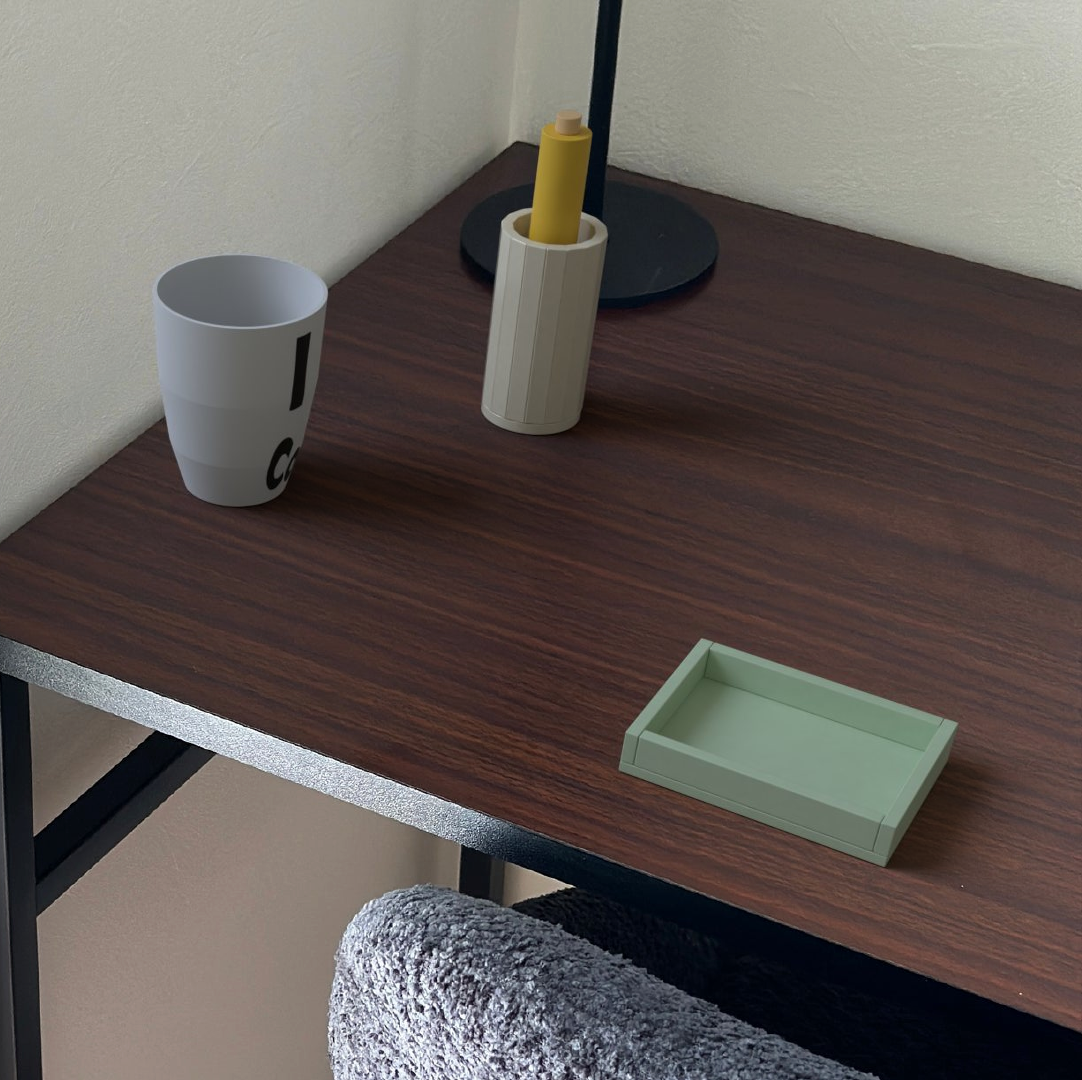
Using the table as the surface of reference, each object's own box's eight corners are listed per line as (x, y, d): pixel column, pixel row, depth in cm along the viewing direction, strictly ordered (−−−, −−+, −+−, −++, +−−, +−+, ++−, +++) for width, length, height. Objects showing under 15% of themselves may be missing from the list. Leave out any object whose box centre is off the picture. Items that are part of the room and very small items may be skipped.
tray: (947, 761, 86) (959, 722, 85) (884, 868, 81) (896, 827, 79) (693, 675, 91) (701, 637, 89) (618, 770, 85) (625, 731, 84)
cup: (303, 531, 99) (314, 336, 93) (136, 512, 100) (136, 318, 94) (326, 450, 105) (338, 262, 99) (169, 433, 106) (171, 245, 100)
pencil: (553, 391, 110) (592, 106, 100) (556, 412, 108) (596, 124, 98) (507, 389, 110) (542, 104, 100) (509, 410, 108) (545, 122, 98)
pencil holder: (577, 390, 111) (603, 209, 105) (583, 437, 107) (611, 251, 101) (479, 385, 111) (499, 204, 105) (482, 432, 107) (503, 246, 101)
